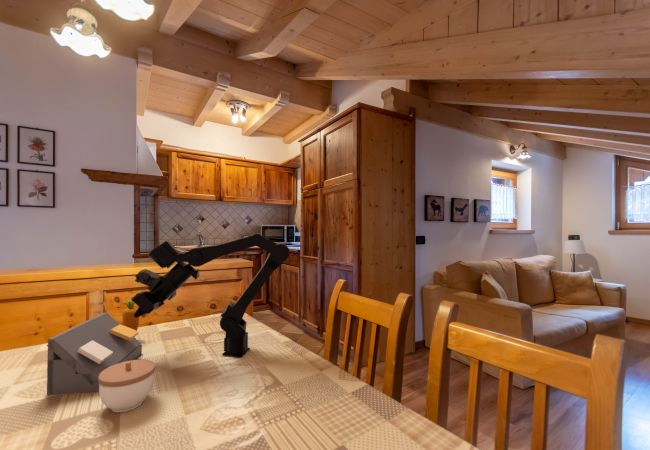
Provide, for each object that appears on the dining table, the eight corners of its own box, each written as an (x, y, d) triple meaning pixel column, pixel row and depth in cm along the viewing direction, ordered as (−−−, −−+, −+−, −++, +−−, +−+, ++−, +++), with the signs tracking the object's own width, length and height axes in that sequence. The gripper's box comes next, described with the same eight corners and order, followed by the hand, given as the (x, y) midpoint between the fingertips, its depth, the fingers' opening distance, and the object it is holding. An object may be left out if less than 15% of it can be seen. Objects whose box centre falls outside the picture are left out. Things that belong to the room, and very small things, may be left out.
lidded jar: (111, 426, 60) (112, 379, 60) (88, 408, 66) (89, 365, 66) (164, 400, 69) (165, 359, 69) (140, 386, 75) (140, 348, 75)
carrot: (130, 344, 101) (131, 299, 101) (118, 343, 102) (119, 299, 102) (142, 339, 105) (143, 296, 106) (130, 338, 106) (131, 295, 107)
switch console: (141, 353, 94) (142, 311, 94) (98, 391, 72) (99, 337, 72) (101, 355, 92) (102, 312, 92) (45, 394, 70) (46, 339, 71)
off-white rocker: (113, 354, 79) (109, 336, 78) (102, 363, 74) (98, 343, 73) (93, 359, 78) (89, 340, 78) (80, 368, 73) (76, 348, 73)
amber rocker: (139, 333, 92) (134, 318, 92) (131, 339, 87) (125, 324, 87) (123, 339, 92) (117, 324, 92) (114, 346, 87) (108, 330, 87)
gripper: (166, 257, 100) (130, 291, 98) (140, 264, 82) (95, 306, 80) (191, 280, 101) (155, 314, 99) (170, 292, 83) (126, 334, 81)
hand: (135, 316), depth 90 cm, fingers closed
